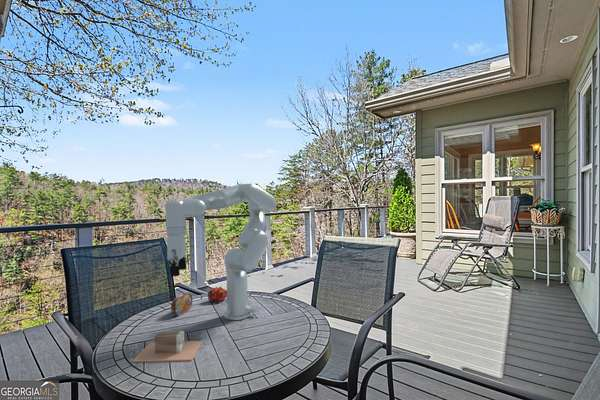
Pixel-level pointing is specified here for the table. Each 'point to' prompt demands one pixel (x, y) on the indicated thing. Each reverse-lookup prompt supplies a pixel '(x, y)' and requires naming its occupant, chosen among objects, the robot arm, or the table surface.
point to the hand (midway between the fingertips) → (178, 272)
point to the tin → (181, 304)
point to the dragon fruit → (217, 294)
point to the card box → (169, 342)
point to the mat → (185, 354)
